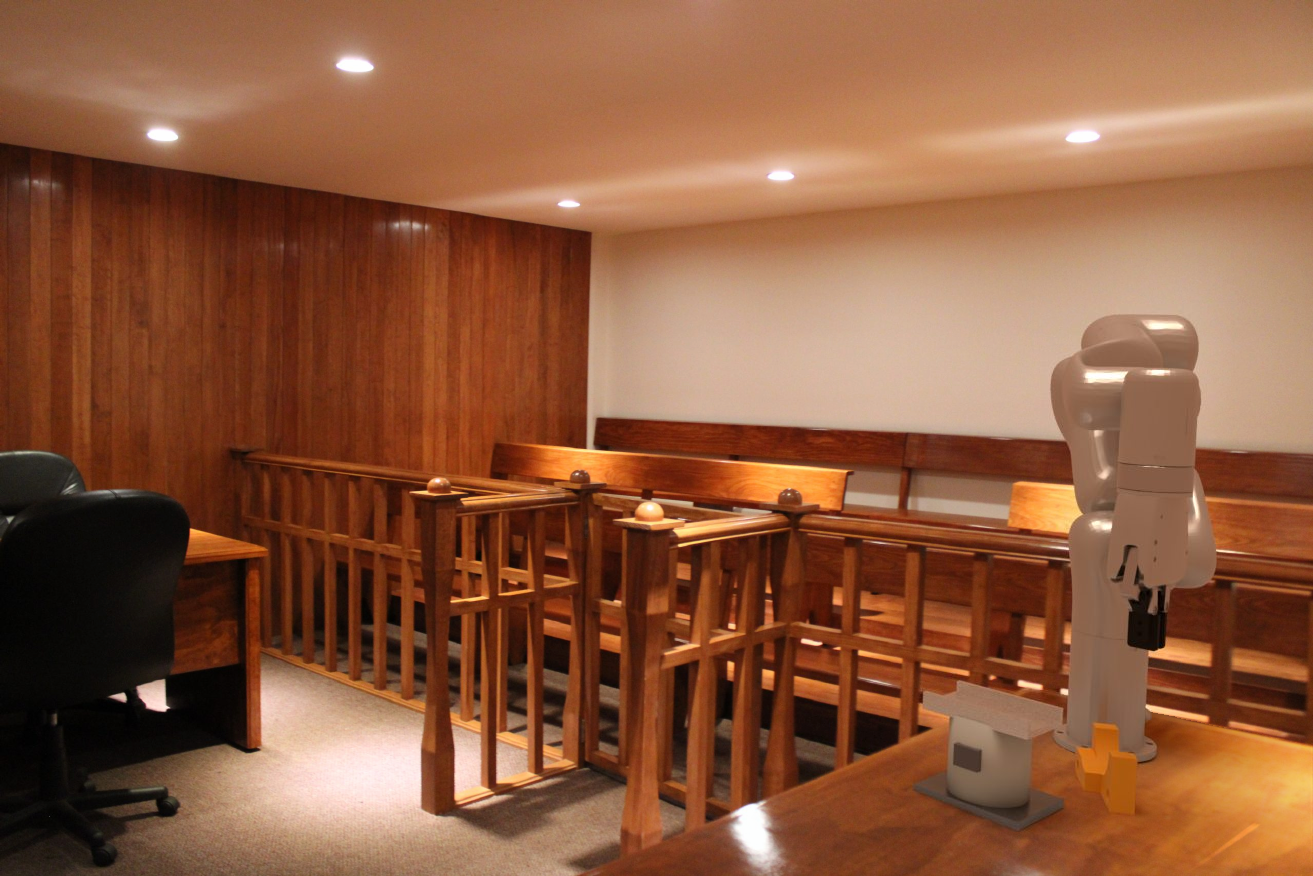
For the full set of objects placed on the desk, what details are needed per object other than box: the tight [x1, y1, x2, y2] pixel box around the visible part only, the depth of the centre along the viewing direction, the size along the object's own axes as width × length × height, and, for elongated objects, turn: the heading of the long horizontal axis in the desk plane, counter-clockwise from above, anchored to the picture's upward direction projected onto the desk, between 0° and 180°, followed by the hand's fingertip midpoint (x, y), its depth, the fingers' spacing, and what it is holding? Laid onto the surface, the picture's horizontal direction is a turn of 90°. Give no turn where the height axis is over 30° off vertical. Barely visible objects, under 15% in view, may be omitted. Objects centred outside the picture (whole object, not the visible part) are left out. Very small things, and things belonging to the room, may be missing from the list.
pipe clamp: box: [1074, 723, 1139, 816], centre depth 119 cm, size 12×4×6 cm, turn 166°
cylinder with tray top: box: [912, 680, 1065, 832], centre depth 115 cm, size 10×13×12 cm
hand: (1145, 646), depth 112 cm, fingers closed
